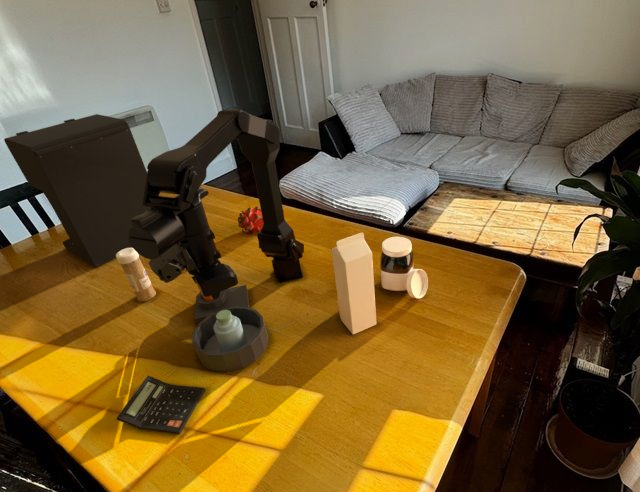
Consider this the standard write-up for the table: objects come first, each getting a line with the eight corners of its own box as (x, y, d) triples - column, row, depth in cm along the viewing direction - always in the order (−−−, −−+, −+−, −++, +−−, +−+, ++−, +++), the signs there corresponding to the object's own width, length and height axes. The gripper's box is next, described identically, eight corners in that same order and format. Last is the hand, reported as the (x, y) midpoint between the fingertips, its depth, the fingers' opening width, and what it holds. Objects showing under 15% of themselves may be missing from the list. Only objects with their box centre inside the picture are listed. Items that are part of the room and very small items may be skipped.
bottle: (246, 333, 90) (236, 303, 85) (247, 350, 86) (237, 319, 81) (221, 339, 89) (209, 309, 84) (221, 357, 85) (209, 326, 80)
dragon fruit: (238, 241, 127) (271, 231, 134) (249, 234, 120) (283, 223, 127) (227, 216, 126) (261, 207, 134) (237, 207, 120) (272, 198, 127)
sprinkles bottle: (158, 297, 104) (137, 252, 96) (138, 304, 102) (116, 259, 94) (154, 288, 107) (134, 244, 99) (135, 295, 105) (113, 251, 97)
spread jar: (385, 271, 106) (383, 232, 99) (429, 274, 104) (431, 234, 97) (377, 301, 97) (375, 260, 90) (426, 304, 94) (427, 263, 88)
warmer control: (248, 291, 103) (244, 278, 101) (250, 313, 96) (246, 300, 94) (198, 302, 101) (193, 289, 99) (197, 326, 94) (191, 313, 92)
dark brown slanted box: (148, 212, 145) (106, 108, 125) (181, 225, 135) (140, 115, 115) (65, 249, 127) (0, 136, 107) (96, 268, 117) (30, 146, 97)
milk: (376, 324, 90) (372, 238, 77) (352, 335, 88) (343, 248, 75) (362, 309, 95) (356, 225, 82) (339, 319, 92) (329, 234, 80)
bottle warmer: (265, 316, 95) (260, 300, 92) (271, 361, 84) (266, 344, 81) (200, 332, 92) (193, 315, 89) (198, 380, 81) (190, 363, 78)
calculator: (180, 434, 71) (174, 424, 69) (121, 427, 73) (114, 417, 72) (205, 390, 79) (201, 380, 77) (151, 385, 81) (146, 374, 79)
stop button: (218, 289, 99) (216, 283, 98) (218, 298, 96) (216, 291, 95) (203, 292, 98) (201, 286, 97) (203, 302, 95) (200, 295, 94)
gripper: (133, 224, 75) (162, 291, 84) (157, 268, 62) (188, 342, 71) (193, 205, 80) (215, 271, 89) (227, 243, 67) (248, 315, 76)
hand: (215, 298), depth 81 cm, fingers closed
